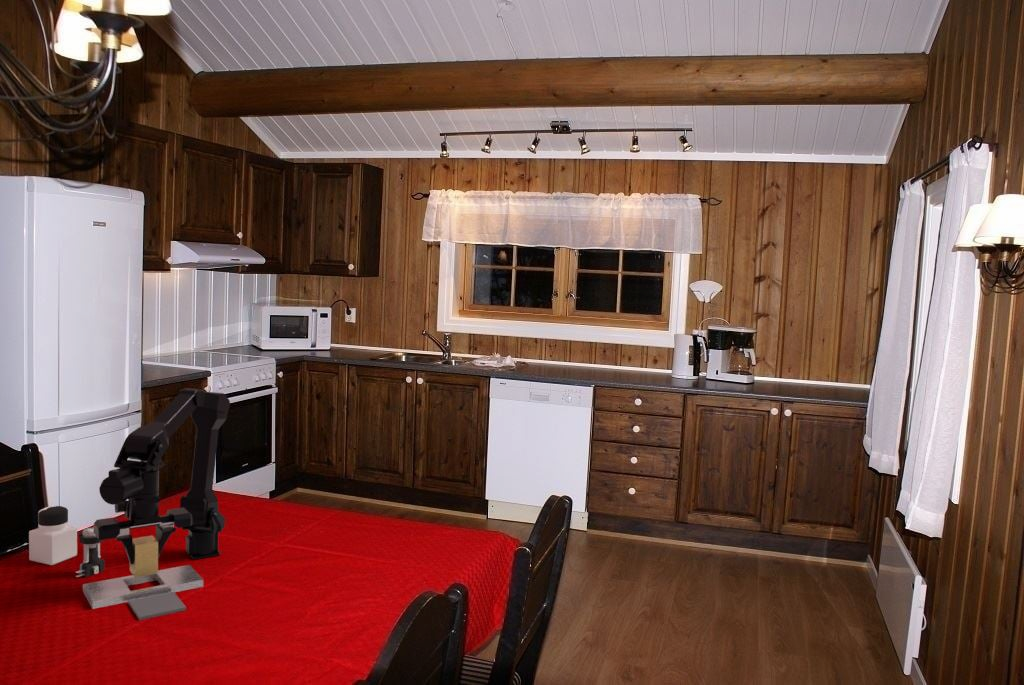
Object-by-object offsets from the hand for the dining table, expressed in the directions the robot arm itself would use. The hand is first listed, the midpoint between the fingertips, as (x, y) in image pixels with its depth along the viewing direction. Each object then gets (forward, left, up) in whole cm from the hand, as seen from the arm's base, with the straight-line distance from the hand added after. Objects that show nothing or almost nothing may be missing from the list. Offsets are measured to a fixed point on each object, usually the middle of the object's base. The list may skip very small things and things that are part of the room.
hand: (143, 561), depth 175 cm
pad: (0, +10, -6) cm, 12 cm away
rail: (0, 0, -6) cm, 6 cm away
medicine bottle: (+13, -29, -6) cm, 32 cm away
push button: (+8, -15, -6) cm, 18 cm away
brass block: (0, 0, -2) cm, 2 cm away
